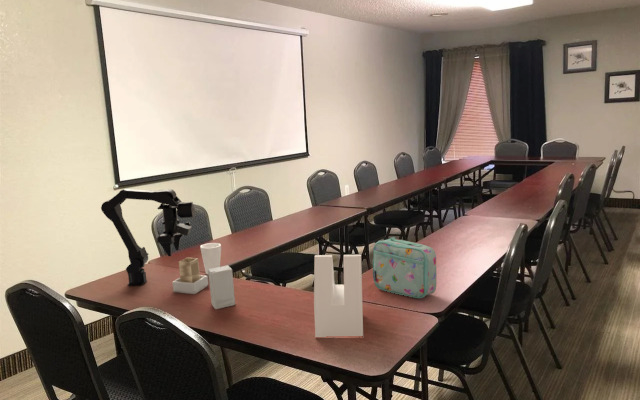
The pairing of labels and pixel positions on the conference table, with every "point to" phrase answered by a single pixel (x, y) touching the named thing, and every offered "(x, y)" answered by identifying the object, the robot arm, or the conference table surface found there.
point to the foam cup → (211, 255)
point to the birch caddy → (189, 270)
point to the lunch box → (404, 268)
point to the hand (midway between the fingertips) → (173, 253)
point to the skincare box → (221, 287)
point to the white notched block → (338, 298)
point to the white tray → (190, 285)
